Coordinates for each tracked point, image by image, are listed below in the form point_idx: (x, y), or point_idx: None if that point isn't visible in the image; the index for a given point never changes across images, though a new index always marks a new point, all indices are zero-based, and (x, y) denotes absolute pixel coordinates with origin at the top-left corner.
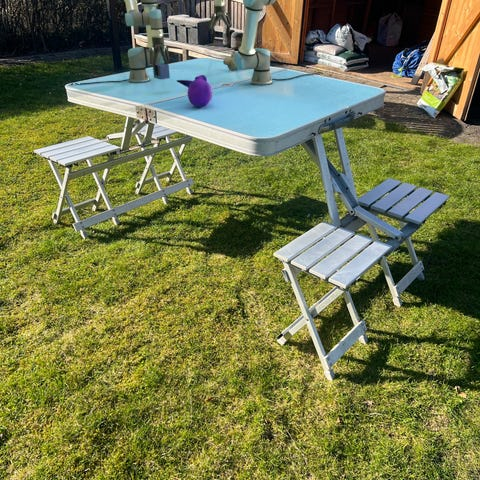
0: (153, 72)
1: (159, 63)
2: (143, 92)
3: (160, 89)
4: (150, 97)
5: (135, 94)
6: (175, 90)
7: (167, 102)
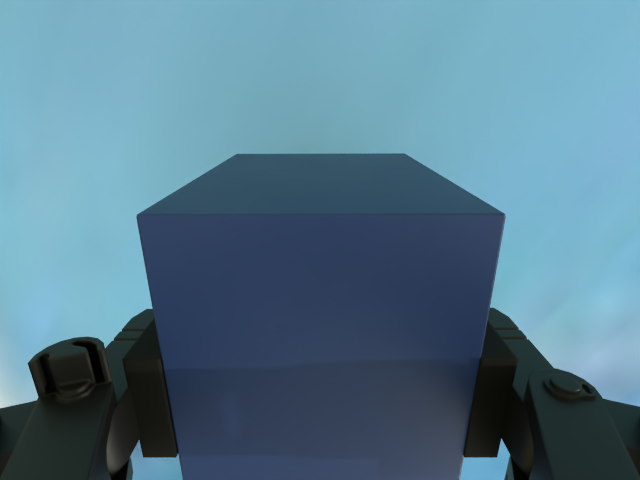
0: (213, 170)
1: (396, 268)
2: (170, 6)
3: (404, 14)
4: (138, 268)
5: (54, 34)
6: (474, 191)
7: (177, 467)
